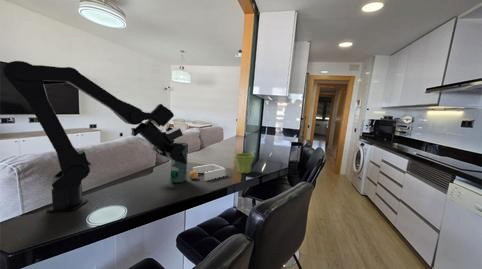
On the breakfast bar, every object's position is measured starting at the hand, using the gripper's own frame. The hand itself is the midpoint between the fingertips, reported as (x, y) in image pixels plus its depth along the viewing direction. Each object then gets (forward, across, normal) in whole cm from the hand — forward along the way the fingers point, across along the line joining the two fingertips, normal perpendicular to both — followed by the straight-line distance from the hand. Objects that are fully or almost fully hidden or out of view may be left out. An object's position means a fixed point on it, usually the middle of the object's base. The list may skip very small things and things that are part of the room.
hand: (182, 161), depth 76 cm
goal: (+15, 0, -3) cm, 15 cm away
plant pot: (+27, -6, -15) cm, 31 cm away
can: (+4, 0, +6) cm, 8 cm away
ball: (+9, 0, +2) cm, 10 cm away
